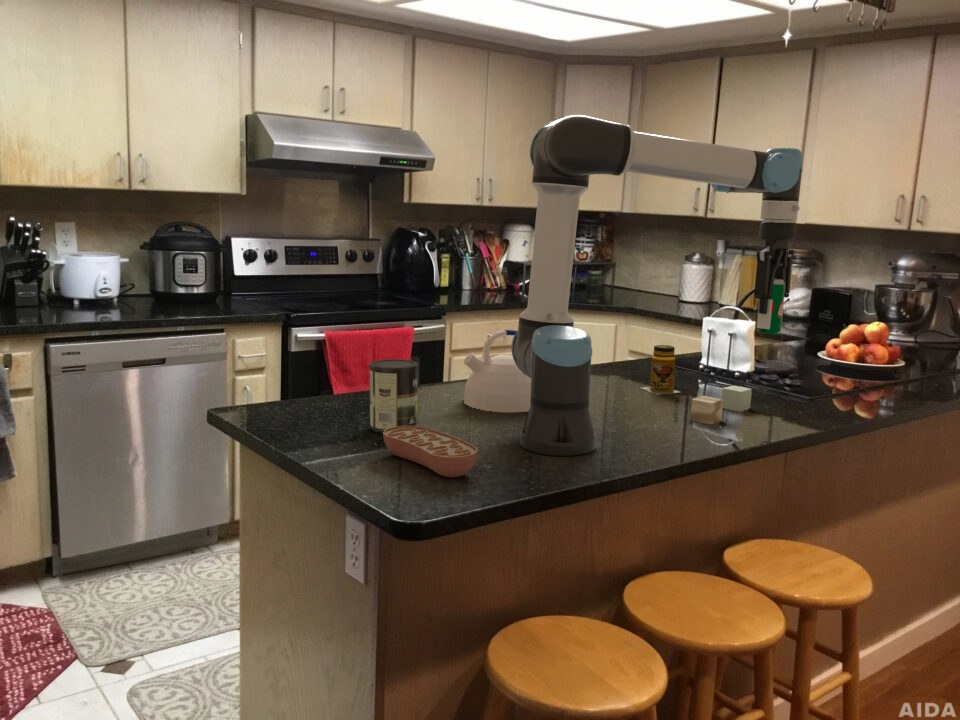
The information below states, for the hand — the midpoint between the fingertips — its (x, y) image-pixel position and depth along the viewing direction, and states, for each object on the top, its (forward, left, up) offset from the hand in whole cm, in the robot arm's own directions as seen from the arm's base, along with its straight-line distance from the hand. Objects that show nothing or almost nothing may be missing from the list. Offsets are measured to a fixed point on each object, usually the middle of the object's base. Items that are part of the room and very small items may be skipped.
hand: (769, 326), depth 187 cm
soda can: (0, 0, -1) cm, 1 cm away
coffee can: (-66, +51, -22) cm, 86 cm away
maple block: (-9, +9, -22) cm, 25 cm away
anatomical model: (-77, +27, -22) cm, 85 cm away
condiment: (+10, +33, -22) cm, 41 cm away
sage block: (+7, +10, -22) cm, 25 cm away
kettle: (-31, +51, -22) cm, 64 cm away
